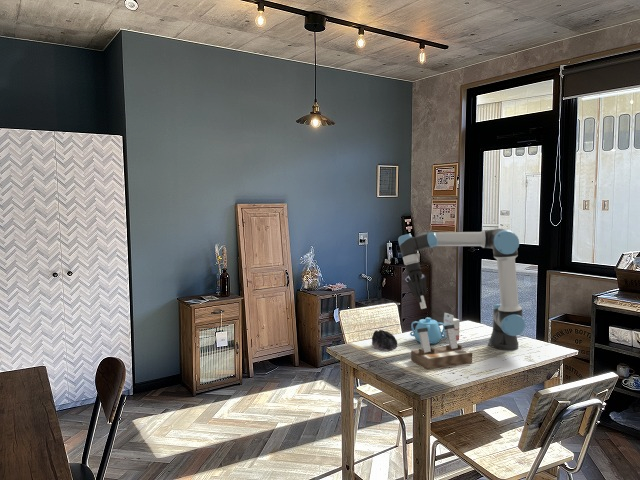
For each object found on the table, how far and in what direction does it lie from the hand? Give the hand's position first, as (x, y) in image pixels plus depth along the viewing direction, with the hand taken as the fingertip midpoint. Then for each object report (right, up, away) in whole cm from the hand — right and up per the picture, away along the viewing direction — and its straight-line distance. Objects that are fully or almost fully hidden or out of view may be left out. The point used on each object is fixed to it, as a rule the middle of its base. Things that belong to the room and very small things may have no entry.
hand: (423, 308), depth 246 cm
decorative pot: (+8, -23, +26) cm, 35 cm away
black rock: (-18, -24, +16) cm, 34 cm away
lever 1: (-1, -20, -10) cm, 22 cm away
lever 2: (+14, -19, -4) cm, 24 cm away
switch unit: (+7, -25, -7) cm, 27 cm away
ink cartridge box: (+23, -22, +32) cm, 45 cm away
